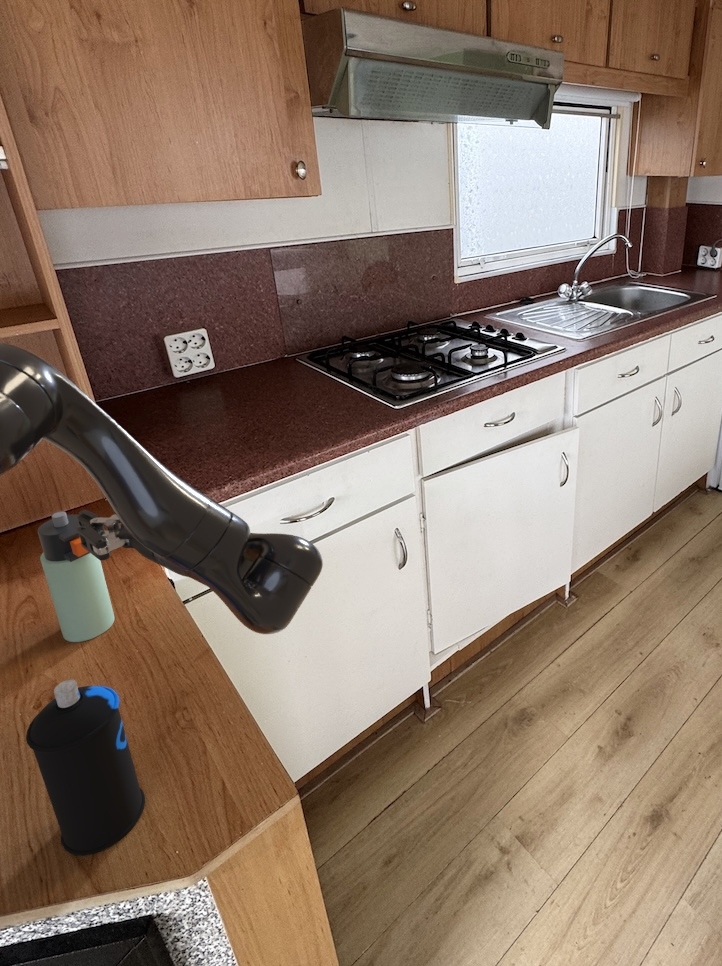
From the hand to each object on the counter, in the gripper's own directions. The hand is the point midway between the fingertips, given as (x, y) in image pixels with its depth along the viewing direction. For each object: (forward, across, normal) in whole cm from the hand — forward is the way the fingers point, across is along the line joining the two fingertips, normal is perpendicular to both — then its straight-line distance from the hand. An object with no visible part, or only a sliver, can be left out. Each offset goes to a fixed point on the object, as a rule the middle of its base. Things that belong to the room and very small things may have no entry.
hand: (110, 505), depth 80 cm
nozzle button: (+11, 0, +11) cm, 16 cm away
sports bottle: (+17, 0, +28) cm, 33 cm away
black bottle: (-18, +16, +28) cm, 37 cm away
